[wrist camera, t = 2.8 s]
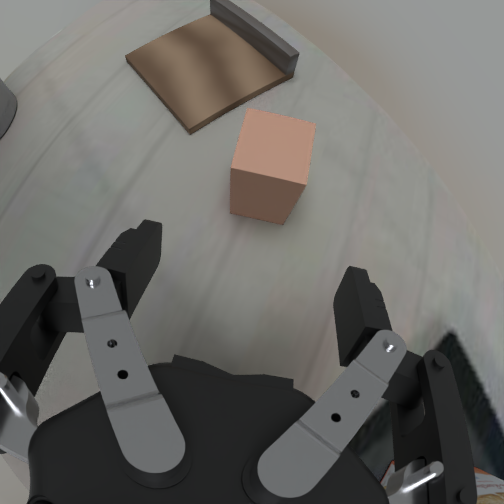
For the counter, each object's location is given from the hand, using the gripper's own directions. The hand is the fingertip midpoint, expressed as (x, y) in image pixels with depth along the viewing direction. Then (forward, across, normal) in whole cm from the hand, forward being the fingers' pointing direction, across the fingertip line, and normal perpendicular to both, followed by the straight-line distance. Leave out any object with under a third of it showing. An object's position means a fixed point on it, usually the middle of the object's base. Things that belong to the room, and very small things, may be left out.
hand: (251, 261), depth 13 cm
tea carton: (+15, 0, +4) cm, 16 cm away
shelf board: (+25, +9, -6) cm, 27 cm away
